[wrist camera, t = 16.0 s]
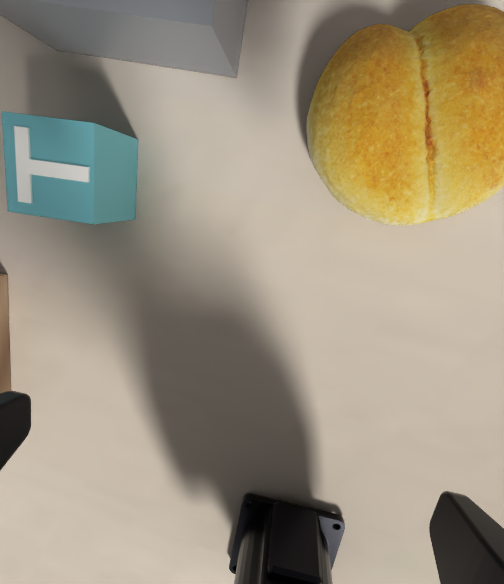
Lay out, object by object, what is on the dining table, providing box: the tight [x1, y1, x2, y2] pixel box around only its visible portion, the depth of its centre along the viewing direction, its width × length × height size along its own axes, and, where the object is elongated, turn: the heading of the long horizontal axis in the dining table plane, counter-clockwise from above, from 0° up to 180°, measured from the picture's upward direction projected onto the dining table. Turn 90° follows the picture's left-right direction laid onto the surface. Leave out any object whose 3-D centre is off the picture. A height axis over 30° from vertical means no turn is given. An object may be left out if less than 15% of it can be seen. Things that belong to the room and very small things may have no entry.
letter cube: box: [2, 111, 138, 224], centre depth 16 cm, size 4×4×4 cm
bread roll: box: [306, 4, 504, 225], centre depth 14 cm, size 8×9×4 cm
